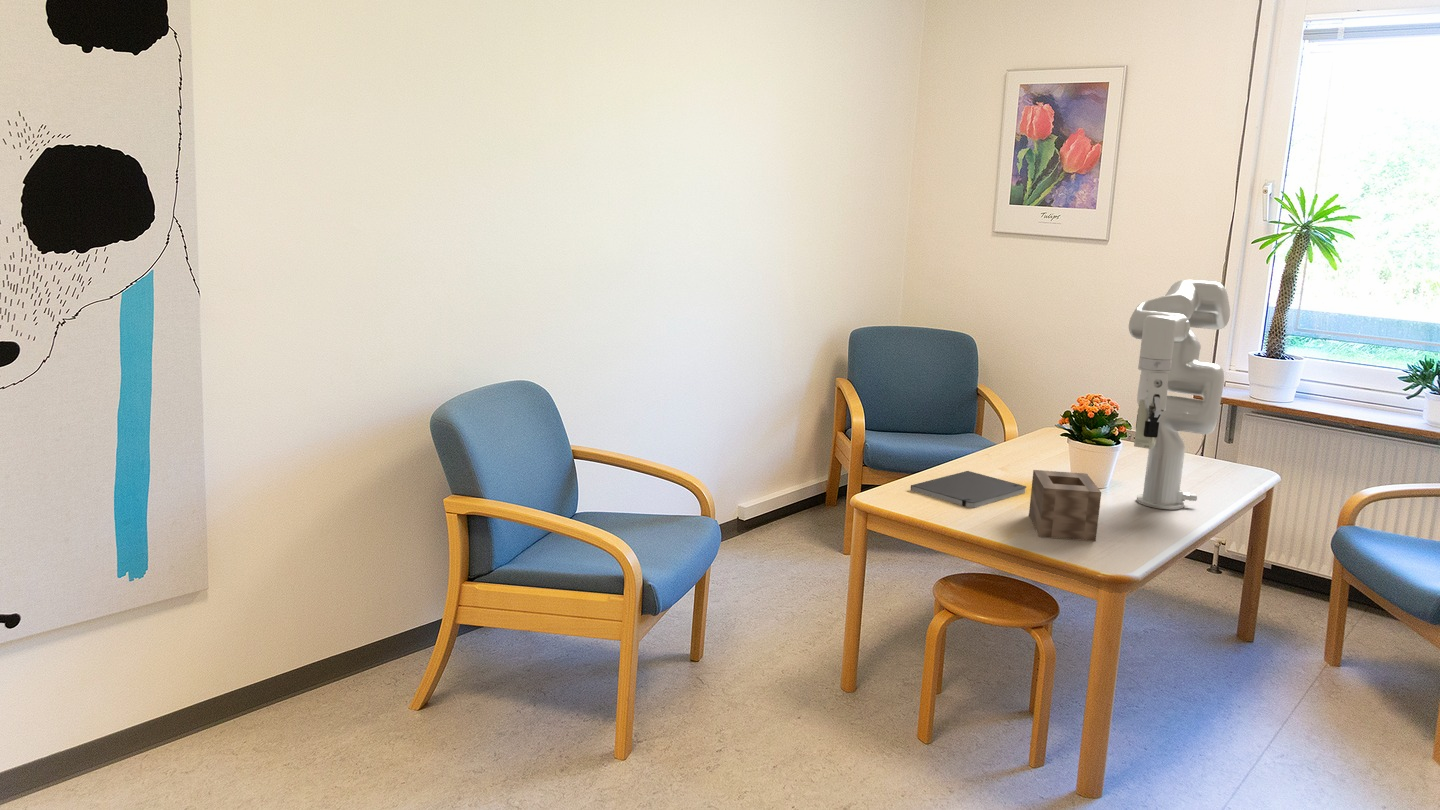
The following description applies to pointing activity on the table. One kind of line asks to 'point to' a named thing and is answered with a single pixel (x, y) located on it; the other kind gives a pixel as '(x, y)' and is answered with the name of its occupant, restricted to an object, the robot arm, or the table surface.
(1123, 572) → the table surface
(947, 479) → the notebook
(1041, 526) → the socket block
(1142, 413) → the skincare box
